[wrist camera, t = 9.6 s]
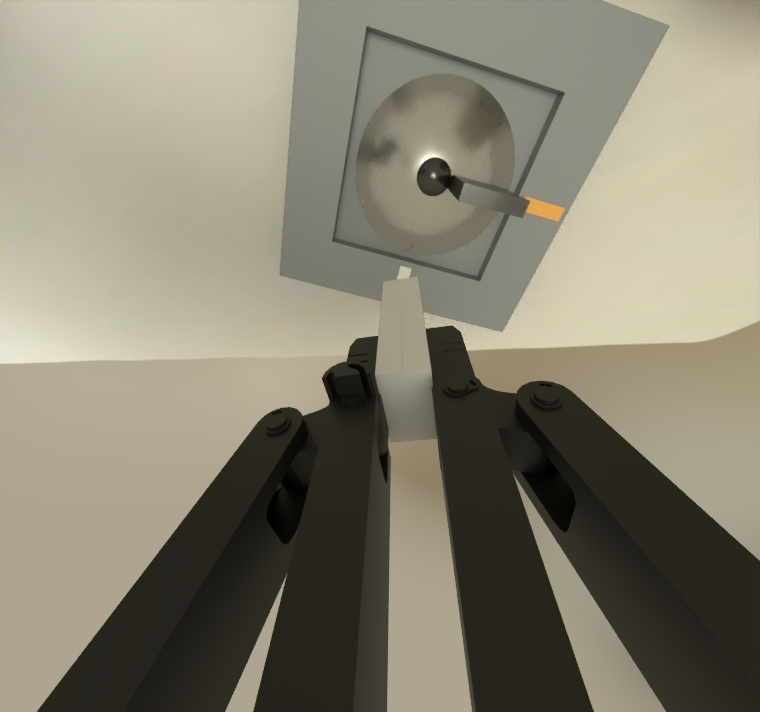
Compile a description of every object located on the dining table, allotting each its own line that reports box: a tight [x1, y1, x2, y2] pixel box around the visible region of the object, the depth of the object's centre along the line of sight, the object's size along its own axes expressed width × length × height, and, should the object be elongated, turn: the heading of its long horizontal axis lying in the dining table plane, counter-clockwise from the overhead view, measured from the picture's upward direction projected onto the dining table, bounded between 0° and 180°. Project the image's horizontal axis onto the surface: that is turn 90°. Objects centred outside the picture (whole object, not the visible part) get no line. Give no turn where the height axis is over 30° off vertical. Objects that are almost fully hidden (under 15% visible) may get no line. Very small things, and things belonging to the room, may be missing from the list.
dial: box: [356, 74, 530, 255], centre depth 26 cm, size 14×14×8 cm
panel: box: [280, 0, 669, 332], centre depth 30 cm, size 26×26×3 cm
